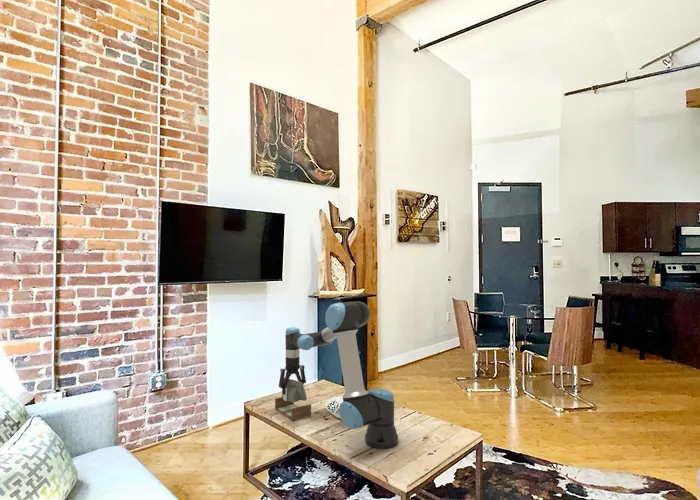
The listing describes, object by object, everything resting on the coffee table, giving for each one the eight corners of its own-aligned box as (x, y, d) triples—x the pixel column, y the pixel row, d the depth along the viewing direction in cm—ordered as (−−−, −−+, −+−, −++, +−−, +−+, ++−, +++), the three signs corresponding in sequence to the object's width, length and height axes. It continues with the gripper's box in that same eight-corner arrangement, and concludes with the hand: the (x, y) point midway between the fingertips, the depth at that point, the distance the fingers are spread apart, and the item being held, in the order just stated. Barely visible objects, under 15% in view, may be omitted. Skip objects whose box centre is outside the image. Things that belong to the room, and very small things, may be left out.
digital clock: (308, 401, 219) (308, 381, 219) (294, 405, 213) (294, 384, 213) (291, 393, 231) (291, 374, 231) (277, 397, 225) (277, 377, 225)
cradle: (311, 416, 217) (311, 404, 217) (292, 421, 210) (292, 409, 210) (292, 405, 233) (292, 394, 233) (275, 409, 227) (275, 398, 227)
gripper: (305, 352, 231) (305, 392, 231) (271, 357, 219) (271, 400, 219) (312, 355, 225) (312, 396, 225) (278, 360, 213) (278, 404, 213)
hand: (292, 398), depth 222 cm, fingers closed on digital clock, 8 cm apart
